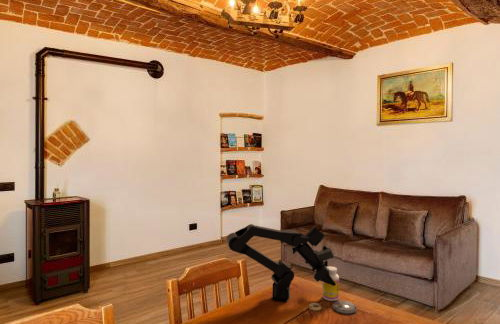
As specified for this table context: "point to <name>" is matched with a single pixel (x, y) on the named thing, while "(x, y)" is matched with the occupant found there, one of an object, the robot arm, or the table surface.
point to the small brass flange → (315, 307)
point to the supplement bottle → (331, 286)
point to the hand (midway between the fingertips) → (334, 281)
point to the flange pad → (344, 307)
